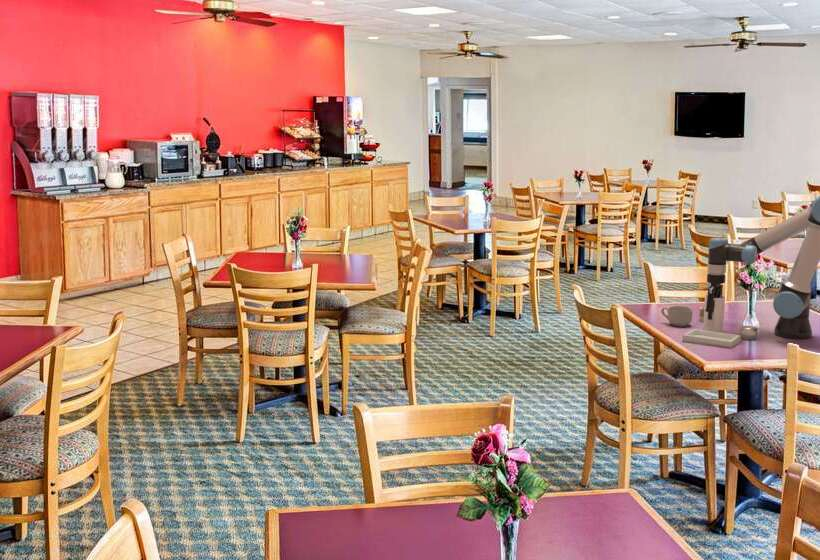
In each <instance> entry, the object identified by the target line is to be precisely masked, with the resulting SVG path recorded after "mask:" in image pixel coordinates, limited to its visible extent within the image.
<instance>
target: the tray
mask: <svg viewBox="0 0 820 560" xmlns="http://www.w3.org/2000/svg"><path fill="white" fill-rule="evenodd" d="M741 341H742V339H741V335H740V334H734V333H733V334H732V333H725V332H723V333H720V332H712V331H705V330H703V329H696V328H692V329H691V330H689V331H687V332H686V333H683V334H682V342H683V343H689V344H696V345H705V346H709V347H710V346H711V347H717V348H718V347H719V348H724V349H732V348H734V347H736V345H738V344H740V343H741Z"/></svg>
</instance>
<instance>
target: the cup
mask: <svg viewBox="0 0 820 560" xmlns="http://www.w3.org/2000/svg"><path fill="white" fill-rule="evenodd" d="M707 297H708V294H705V295H704V306H703V307H704V321H703V322H702V323H703V324H702V330H705V331H712V332H720V333H724V331H723V330H724V316H725V315H724V314H725V302H726V301H725V300H726V297H725V296H724V295H723V294H722V295H720V298H714V300H715V305H714V325H713V327H707V312H706V311H705V310H706V305H707Z"/></svg>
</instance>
